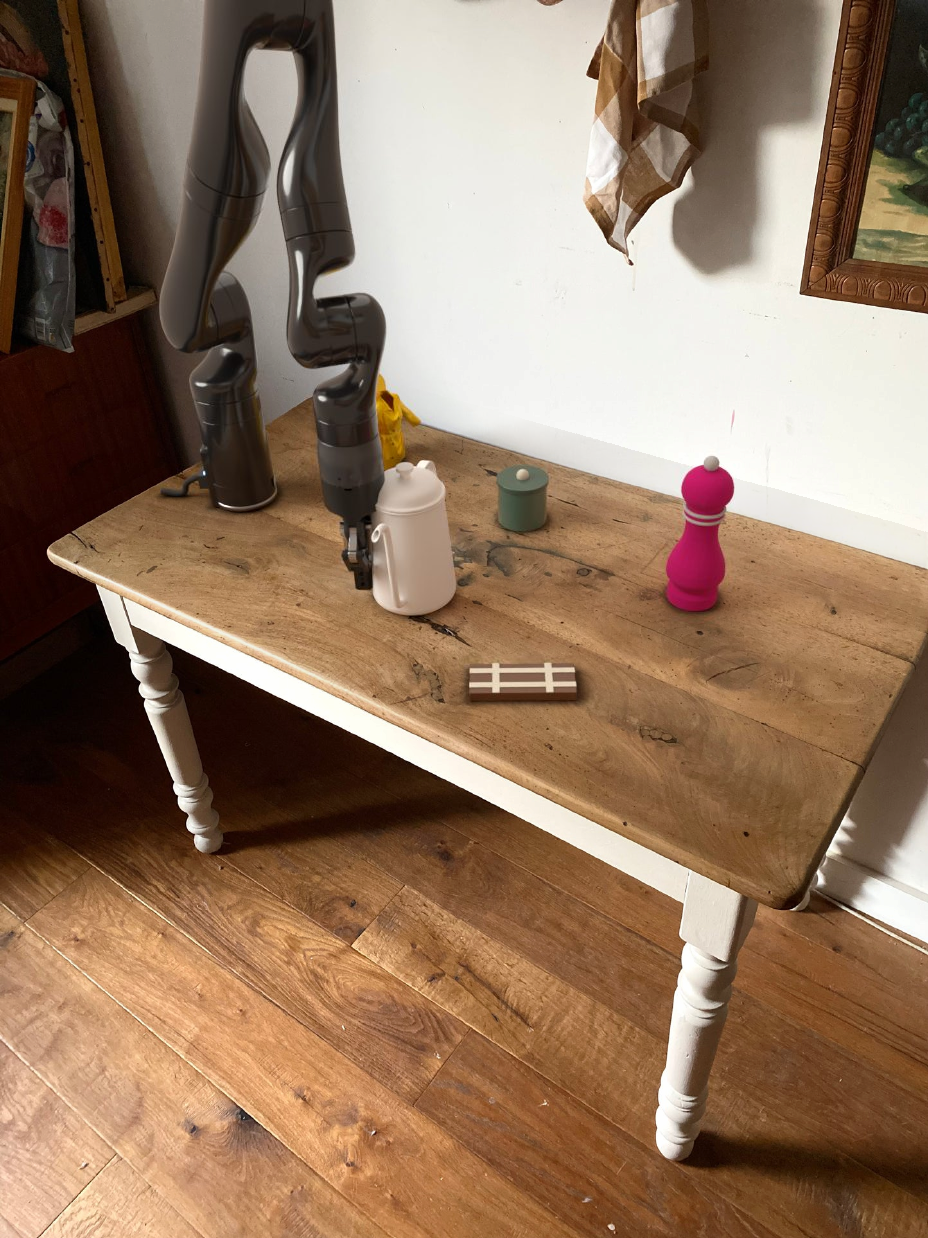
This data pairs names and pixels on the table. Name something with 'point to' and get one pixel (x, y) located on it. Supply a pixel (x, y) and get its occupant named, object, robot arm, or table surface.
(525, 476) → the canister
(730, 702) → the table surface
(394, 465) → the figure statuette
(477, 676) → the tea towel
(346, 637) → the table surface
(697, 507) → the pepper mill
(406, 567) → the coffeepot
